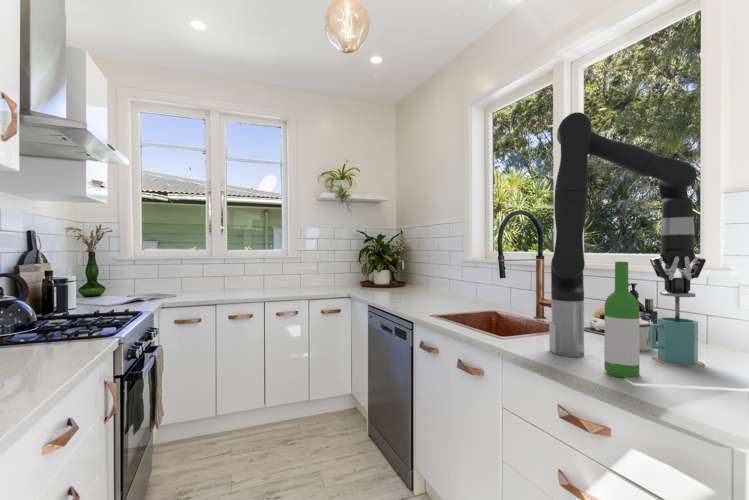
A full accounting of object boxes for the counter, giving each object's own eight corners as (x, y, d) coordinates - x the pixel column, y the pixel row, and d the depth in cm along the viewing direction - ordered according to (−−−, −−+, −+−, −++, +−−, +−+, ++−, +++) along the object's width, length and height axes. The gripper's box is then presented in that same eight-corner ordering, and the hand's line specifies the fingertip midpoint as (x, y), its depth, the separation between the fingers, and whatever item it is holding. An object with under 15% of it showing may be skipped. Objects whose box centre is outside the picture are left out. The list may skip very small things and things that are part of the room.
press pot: (659, 364, 104) (659, 322, 104) (642, 355, 112) (642, 316, 112) (704, 366, 102) (704, 323, 102) (683, 357, 111) (683, 317, 111)
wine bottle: (637, 381, 92) (637, 262, 92) (601, 374, 97) (601, 261, 97) (641, 374, 98) (641, 261, 98) (607, 367, 103) (607, 261, 103)
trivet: (667, 368, 102) (667, 366, 102) (643, 356, 114) (643, 354, 114) (716, 370, 100) (716, 368, 100) (686, 358, 112) (686, 356, 112)
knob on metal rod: (671, 331, 104) (670, 278, 104) (654, 326, 112) (654, 276, 112) (702, 332, 103) (702, 278, 103) (683, 326, 111) (683, 276, 111)
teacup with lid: (655, 353, 118) (655, 316, 118) (623, 351, 120) (623, 315, 120) (638, 343, 129) (638, 310, 129) (609, 342, 131) (609, 309, 131)
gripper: (658, 233, 105) (658, 293, 105) (714, 232, 102) (714, 294, 102) (643, 234, 112) (643, 291, 112) (695, 234, 110) (695, 291, 110)
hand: (677, 292), depth 107 cm, fingers closed on knob on metal rod, 3 cm apart
